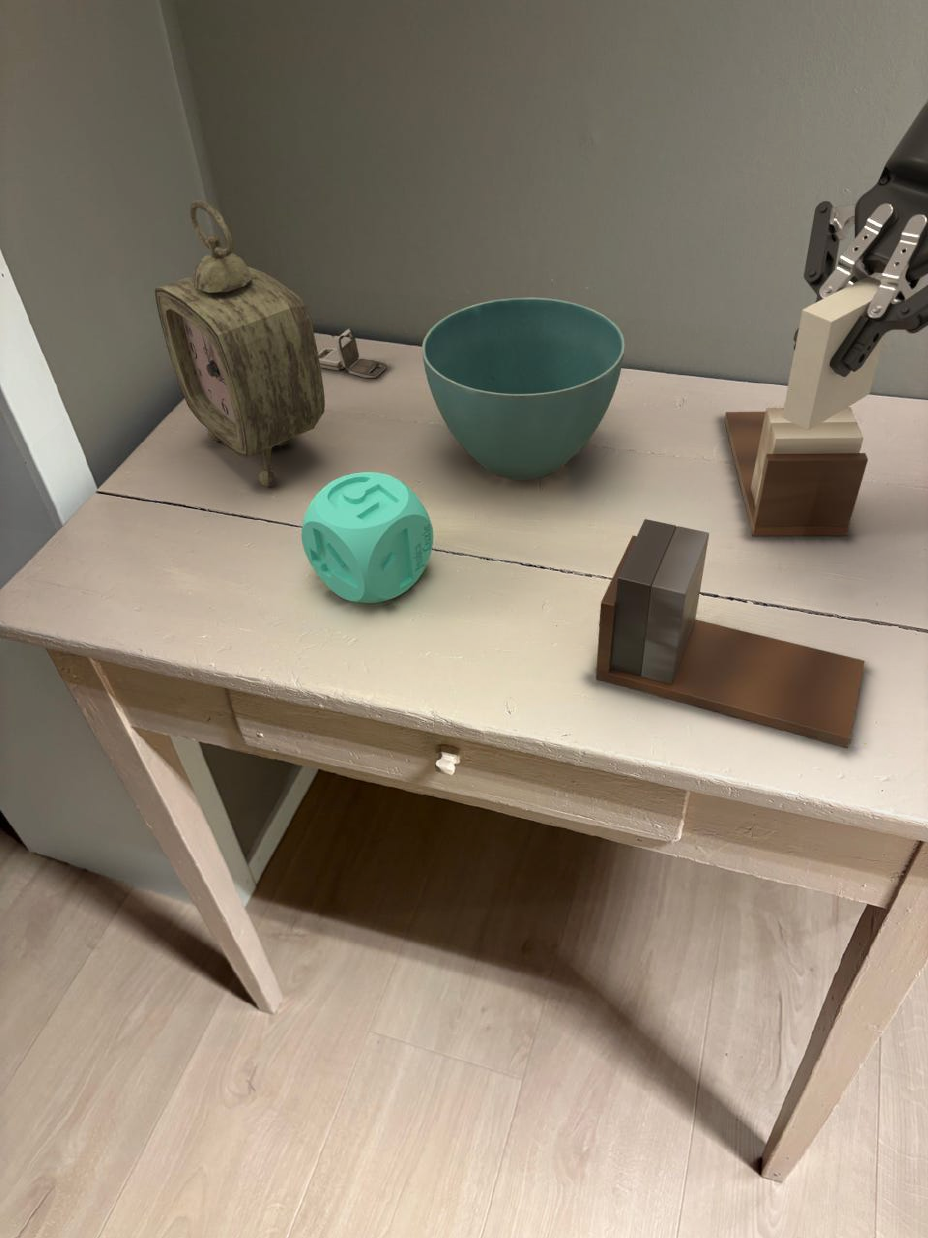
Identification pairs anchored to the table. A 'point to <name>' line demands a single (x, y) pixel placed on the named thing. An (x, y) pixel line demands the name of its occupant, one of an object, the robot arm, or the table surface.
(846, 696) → the brown wooden bookend
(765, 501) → the brown wooden book rack
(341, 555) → the decorative dice
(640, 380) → the table surface
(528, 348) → the teal bowl
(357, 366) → the strap clip
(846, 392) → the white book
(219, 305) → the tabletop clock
